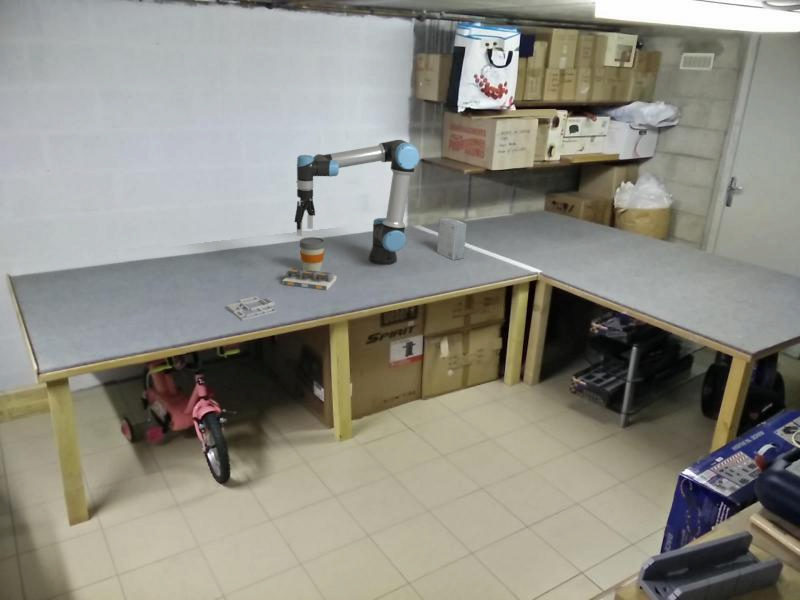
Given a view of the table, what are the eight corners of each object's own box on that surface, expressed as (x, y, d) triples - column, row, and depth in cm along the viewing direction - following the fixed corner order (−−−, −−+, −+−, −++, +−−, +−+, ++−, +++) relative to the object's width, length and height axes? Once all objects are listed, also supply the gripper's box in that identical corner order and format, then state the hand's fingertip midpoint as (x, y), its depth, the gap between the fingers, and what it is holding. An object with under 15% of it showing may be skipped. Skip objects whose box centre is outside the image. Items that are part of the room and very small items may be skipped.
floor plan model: (256, 293, 285) (255, 289, 284) (283, 311, 268) (283, 307, 267) (217, 301, 274) (216, 297, 273) (242, 321, 256) (242, 317, 256)
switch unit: (336, 279, 306) (336, 269, 304) (326, 290, 292) (326, 280, 290) (293, 274, 310) (293, 264, 308) (282, 284, 295) (282, 274, 294)
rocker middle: (318, 273, 304) (318, 270, 303) (311, 276, 294) (311, 273, 294) (308, 272, 305) (308, 269, 304) (301, 275, 295) (301, 272, 295)
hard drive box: (464, 258, 346) (467, 224, 339) (453, 260, 342) (456, 225, 335) (446, 251, 358) (449, 217, 351) (436, 252, 354) (438, 218, 347)
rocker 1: (304, 272, 305) (304, 269, 305) (297, 274, 295) (297, 271, 295) (294, 270, 306) (294, 268, 305) (287, 273, 296) (287, 270, 296)
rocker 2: (331, 275, 303) (332, 272, 302) (325, 277, 293) (325, 275, 293) (322, 274, 303) (322, 271, 303) (315, 276, 294) (315, 273, 293)
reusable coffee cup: (322, 264, 325) (323, 236, 320) (326, 272, 314) (326, 244, 308) (298, 265, 322) (298, 237, 317) (301, 273, 311) (300, 244, 305)
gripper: (307, 183, 308) (307, 224, 316) (287, 193, 285) (287, 237, 293) (321, 184, 306) (321, 226, 314) (302, 194, 284) (302, 239, 291)
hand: (305, 232), depth 304 cm, fingers open, 13 cm apart
